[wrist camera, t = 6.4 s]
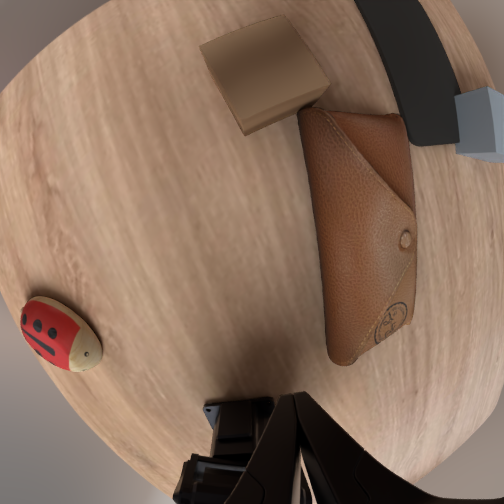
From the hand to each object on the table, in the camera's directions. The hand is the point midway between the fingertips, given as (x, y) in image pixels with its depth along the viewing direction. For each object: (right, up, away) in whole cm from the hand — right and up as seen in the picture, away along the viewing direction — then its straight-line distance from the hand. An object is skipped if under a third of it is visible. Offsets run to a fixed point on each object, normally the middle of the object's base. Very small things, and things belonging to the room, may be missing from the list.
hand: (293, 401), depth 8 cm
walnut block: (-1, +16, +8) cm, 18 cm away
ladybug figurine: (-19, -2, +13) cm, 24 cm away
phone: (+12, +21, +7) cm, 25 cm away
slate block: (+18, +15, +8) cm, 25 cm away
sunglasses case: (+7, +6, +11) cm, 15 cm away
